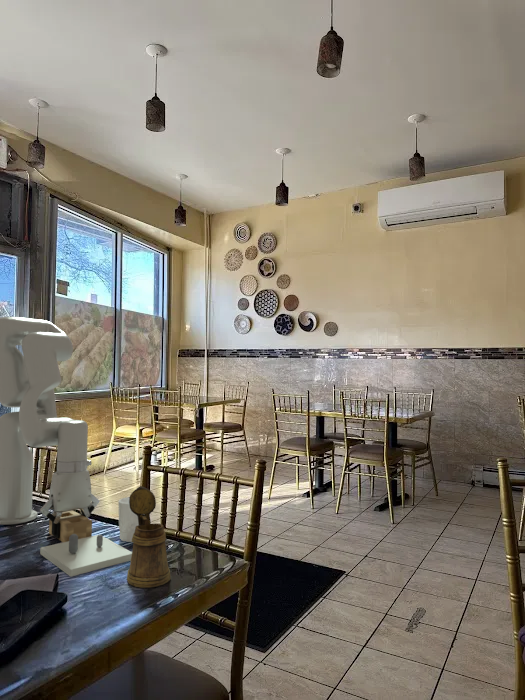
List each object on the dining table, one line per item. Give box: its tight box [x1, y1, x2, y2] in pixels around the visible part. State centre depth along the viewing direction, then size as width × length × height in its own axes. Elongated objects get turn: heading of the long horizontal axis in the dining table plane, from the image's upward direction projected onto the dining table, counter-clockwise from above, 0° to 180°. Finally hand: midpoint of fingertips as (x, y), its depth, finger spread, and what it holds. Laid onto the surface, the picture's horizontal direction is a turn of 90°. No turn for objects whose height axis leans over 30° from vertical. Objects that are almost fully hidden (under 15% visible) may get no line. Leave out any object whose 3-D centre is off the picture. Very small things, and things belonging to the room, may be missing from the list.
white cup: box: [117, 496, 145, 543], centre depth 134 cm, size 8×8×10 cm
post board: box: [39, 534, 132, 578], centre depth 120 cm, size 18×15×6 cm
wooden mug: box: [126, 485, 172, 589], centre depth 110 cm, size 9×14×18 cm, turn 27°
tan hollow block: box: [48, 510, 93, 543], centre depth 134 cm, size 12×6×5 cm, turn 43°
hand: (69, 533), depth 134 cm, fingers closed on tan hollow block, 6 cm apart
